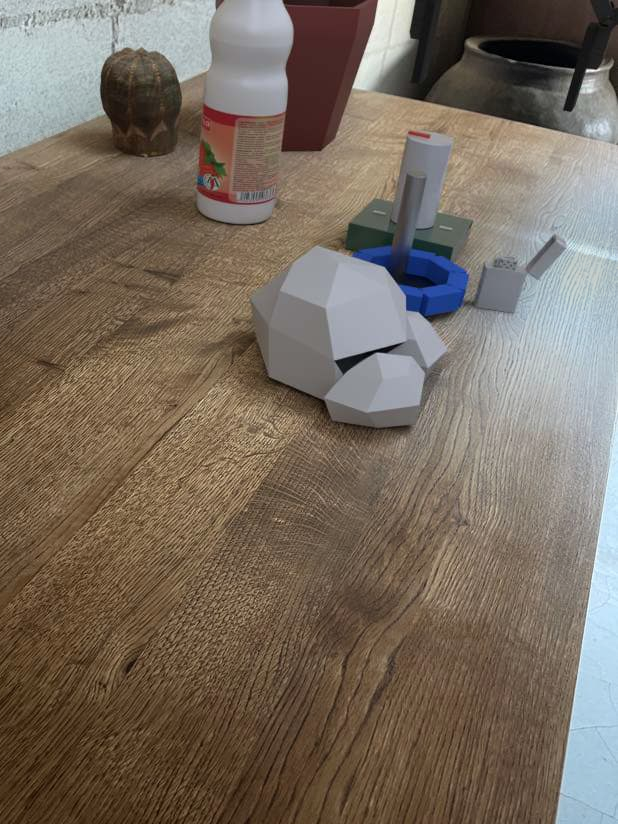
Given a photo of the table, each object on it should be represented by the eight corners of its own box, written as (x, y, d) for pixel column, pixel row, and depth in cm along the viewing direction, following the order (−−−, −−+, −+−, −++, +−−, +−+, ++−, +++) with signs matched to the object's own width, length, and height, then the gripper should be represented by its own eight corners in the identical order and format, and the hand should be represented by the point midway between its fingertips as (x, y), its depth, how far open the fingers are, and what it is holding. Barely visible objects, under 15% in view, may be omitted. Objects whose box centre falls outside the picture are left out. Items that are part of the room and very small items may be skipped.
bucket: (286, 106, 150) (308, -76, 134) (391, 144, 138) (429, -52, 123) (172, 126, 136) (182, -75, 121) (278, 169, 125) (304, -48, 109)
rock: (442, 343, 88) (468, 245, 81) (439, 456, 72) (470, 345, 66) (255, 312, 90) (266, 214, 83) (213, 416, 74) (223, 305, 68)
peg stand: (444, 286, 98) (473, 171, 91) (423, 317, 92) (452, 196, 84) (364, 266, 101) (385, 152, 93) (338, 295, 94) (359, 176, 87)
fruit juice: (266, 231, 107) (300, -54, 89) (187, 218, 108) (205, -65, 90) (278, 204, 114) (312, -64, 96) (204, 193, 115) (224, -74, 97)
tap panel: (466, 245, 108) (473, 218, 106) (447, 273, 101) (454, 245, 99) (369, 222, 112) (374, 196, 110) (344, 248, 104) (348, 221, 102)
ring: (467, 278, 98) (472, 260, 97) (457, 324, 89) (462, 304, 88) (357, 256, 100) (360, 239, 99) (336, 299, 91) (339, 280, 90)
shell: (104, 131, 132) (105, 38, 124) (181, 138, 132) (186, 46, 124) (95, 155, 123) (94, 56, 116) (176, 162, 123) (181, 64, 116)
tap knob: (438, 219, 106) (459, 134, 100) (428, 232, 102) (448, 145, 96) (397, 209, 107) (414, 125, 101) (385, 222, 103) (402, 135, 97)
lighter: (474, 307, 95) (495, 231, 90) (473, 300, 96) (494, 224, 91) (544, 317, 94) (569, 241, 89) (542, 310, 96) (567, 234, 90)
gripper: (394, -228, 70) (347, 77, 83) (745, -197, 63) (632, 130, 76) (419, -223, 75) (371, 62, 89) (744, -194, 68) (639, 111, 82)
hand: (492, 94), depth 82 cm, fingers open, 13 cm apart
